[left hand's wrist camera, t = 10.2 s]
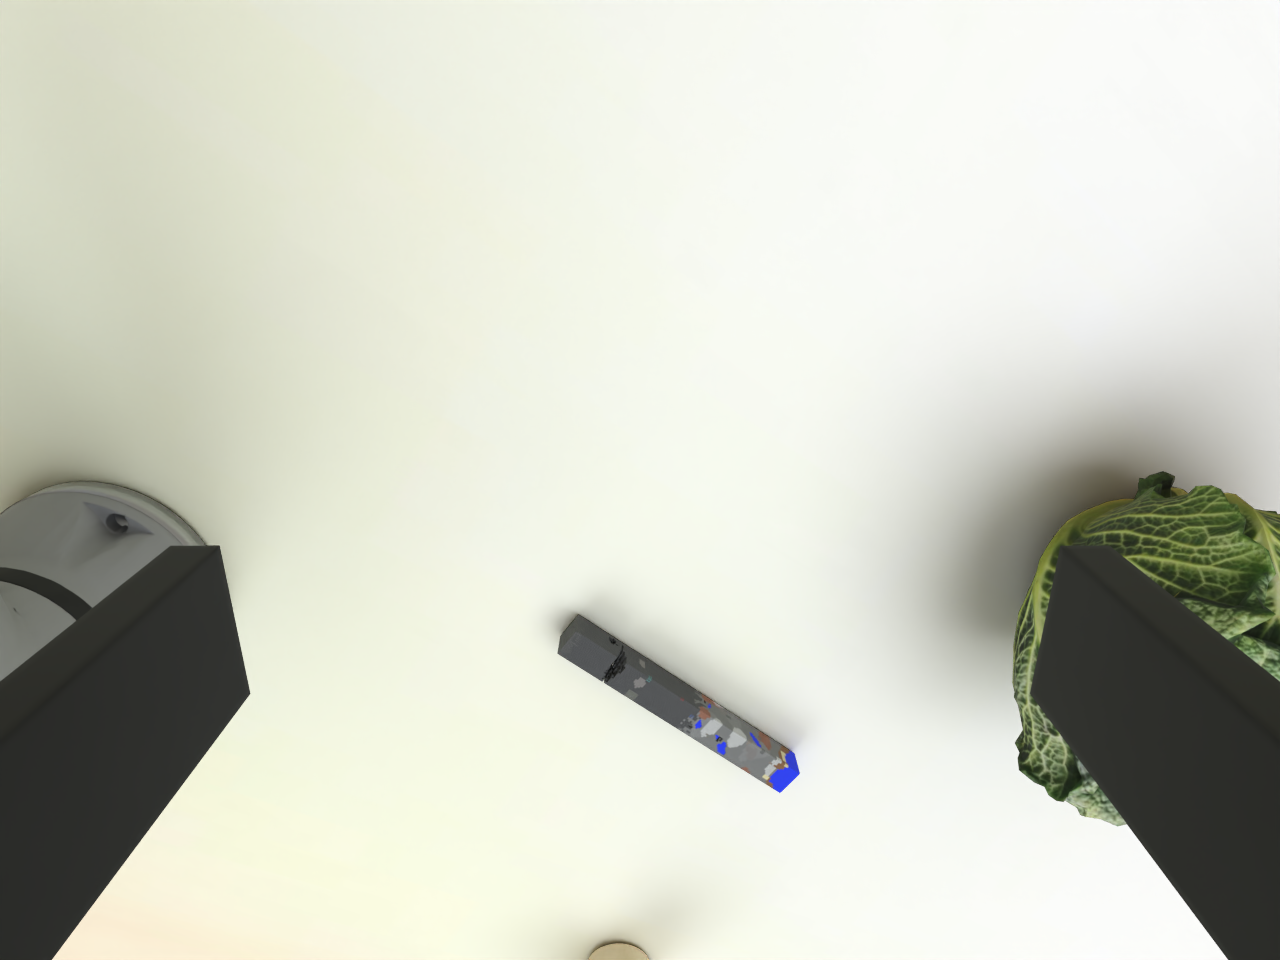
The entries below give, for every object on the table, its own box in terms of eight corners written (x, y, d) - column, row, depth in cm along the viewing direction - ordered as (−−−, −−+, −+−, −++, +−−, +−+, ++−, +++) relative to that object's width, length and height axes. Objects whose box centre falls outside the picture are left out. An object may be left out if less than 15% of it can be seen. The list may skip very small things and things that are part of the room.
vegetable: (968, 554, 62) (955, 800, 48) (1100, 354, 47) (1132, 623, 34) (1241, 639, 59) (1307, 926, 45) (1467, 453, 45) (1660, 789, 31)
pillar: (576, 631, 53) (803, 776, 58) (578, 614, 55) (797, 755, 60) (557, 653, 54) (783, 795, 58) (560, 636, 56) (778, 774, 60)
